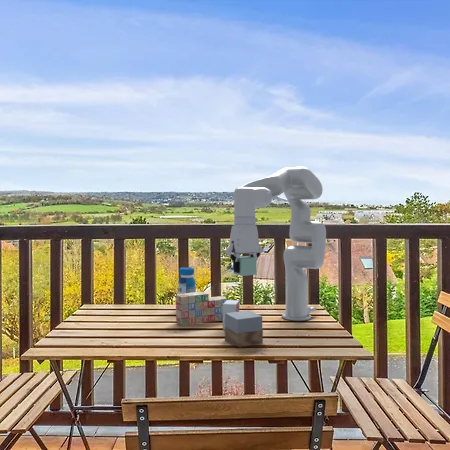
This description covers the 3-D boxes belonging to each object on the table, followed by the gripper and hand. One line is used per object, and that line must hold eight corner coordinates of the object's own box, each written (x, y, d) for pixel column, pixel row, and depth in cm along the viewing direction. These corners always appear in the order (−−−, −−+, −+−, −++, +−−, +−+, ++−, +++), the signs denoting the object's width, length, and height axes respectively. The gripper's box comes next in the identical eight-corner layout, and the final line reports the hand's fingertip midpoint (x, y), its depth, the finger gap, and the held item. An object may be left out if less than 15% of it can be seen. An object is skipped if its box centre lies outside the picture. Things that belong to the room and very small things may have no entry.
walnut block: (248, 336, 174) (248, 323, 173) (262, 343, 165) (262, 330, 165) (224, 340, 169) (224, 327, 168) (238, 348, 160) (238, 333, 160)
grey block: (249, 323, 173) (249, 310, 173) (262, 330, 164) (262, 316, 164) (225, 326, 169) (225, 313, 169) (237, 333, 160) (237, 319, 160)
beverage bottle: (195, 312, 210) (195, 269, 209) (177, 312, 211) (176, 269, 210) (196, 308, 219) (196, 266, 218) (179, 308, 219) (178, 266, 218)
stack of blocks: (220, 316, 203) (220, 289, 203) (227, 319, 198) (227, 291, 197) (175, 322, 193) (175, 293, 193) (181, 326, 188) (181, 296, 187)
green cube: (247, 272, 170) (247, 256, 169) (256, 274, 164) (256, 257, 164) (233, 273, 167) (233, 257, 166) (242, 275, 161) (242, 258, 161)
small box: (236, 330, 180) (236, 304, 180) (222, 330, 181) (222, 303, 181) (239, 325, 188) (239, 300, 188) (226, 324, 189) (226, 299, 189)
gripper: (258, 221, 172) (258, 268, 173) (218, 222, 164) (218, 272, 165) (270, 221, 166) (270, 271, 166) (229, 222, 157) (229, 275, 158)
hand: (244, 271), depth 165 cm, fingers closed on green cube, 6 cm apart
